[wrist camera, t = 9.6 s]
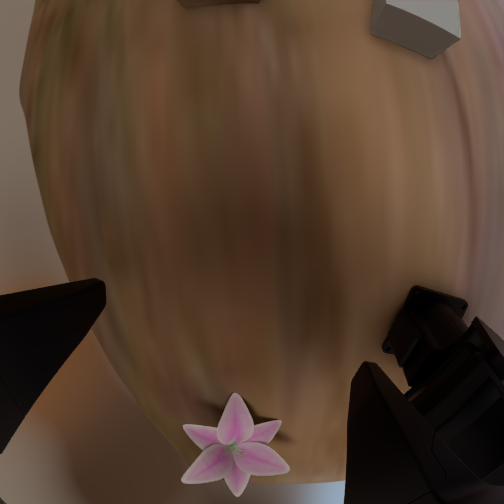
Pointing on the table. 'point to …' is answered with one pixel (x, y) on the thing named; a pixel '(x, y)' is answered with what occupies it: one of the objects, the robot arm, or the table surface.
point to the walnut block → (211, 2)
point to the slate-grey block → (417, 24)
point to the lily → (234, 449)
